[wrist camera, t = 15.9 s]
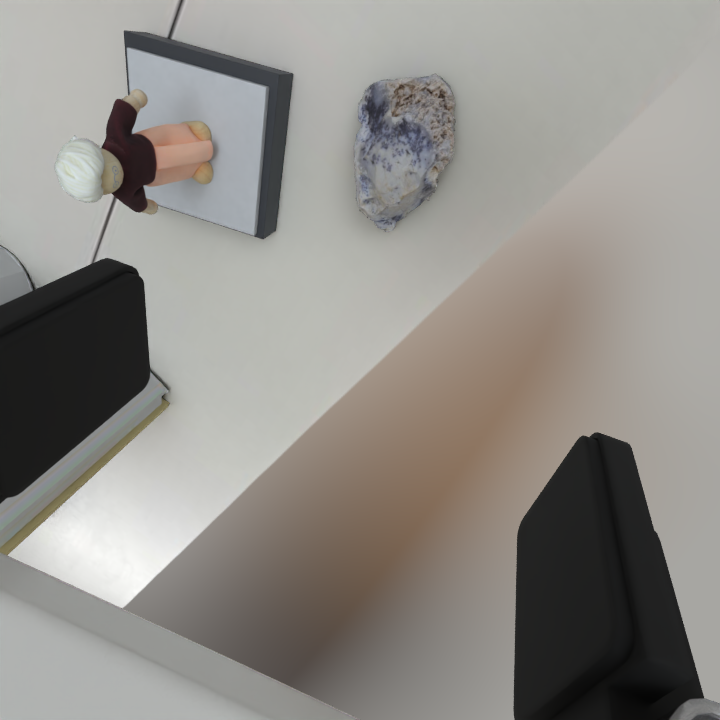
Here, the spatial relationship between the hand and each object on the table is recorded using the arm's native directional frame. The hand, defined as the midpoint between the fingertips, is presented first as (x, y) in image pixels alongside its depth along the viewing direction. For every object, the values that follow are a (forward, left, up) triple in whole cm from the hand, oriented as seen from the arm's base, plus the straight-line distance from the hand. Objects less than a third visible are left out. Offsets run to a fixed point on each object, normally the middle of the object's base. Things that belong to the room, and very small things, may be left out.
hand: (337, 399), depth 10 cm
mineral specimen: (+5, +1, -30) cm, 30 cm away
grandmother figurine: (+19, +4, -27) cm, 33 cm away
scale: (+20, +4, -30) cm, 36 cm away
